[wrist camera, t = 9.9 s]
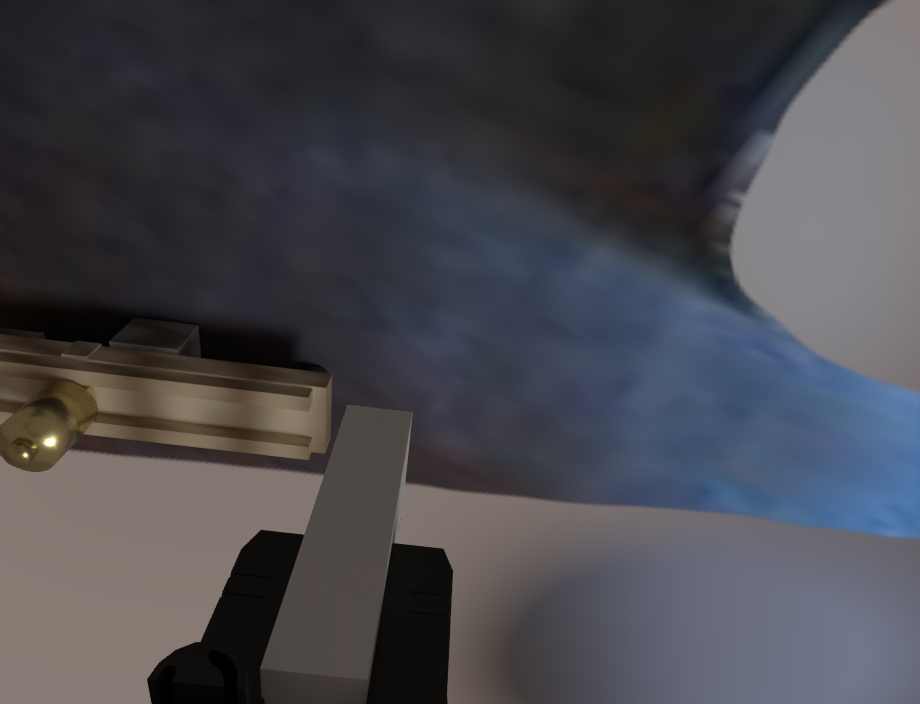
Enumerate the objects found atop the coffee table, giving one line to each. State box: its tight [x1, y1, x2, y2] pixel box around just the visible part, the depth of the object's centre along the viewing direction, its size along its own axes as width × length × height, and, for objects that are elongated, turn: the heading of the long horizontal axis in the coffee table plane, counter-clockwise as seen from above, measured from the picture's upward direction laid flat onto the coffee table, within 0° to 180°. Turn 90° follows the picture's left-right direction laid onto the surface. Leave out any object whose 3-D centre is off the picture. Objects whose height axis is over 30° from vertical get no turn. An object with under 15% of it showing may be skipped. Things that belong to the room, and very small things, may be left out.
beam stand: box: [0, 318, 332, 460], centre depth 49 cm, size 28×7×7 cm, turn 83°
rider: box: [0, 381, 98, 472], centre depth 43 cm, size 4×4×7 cm
